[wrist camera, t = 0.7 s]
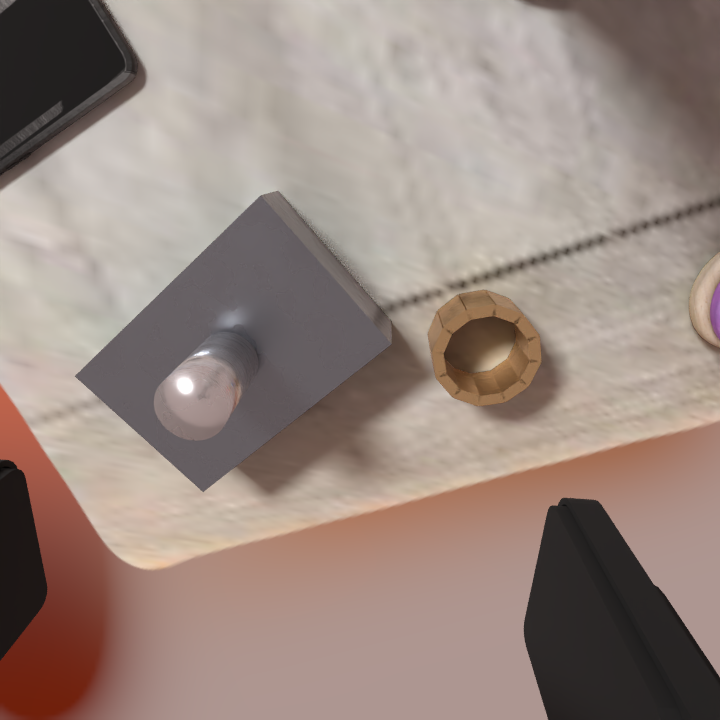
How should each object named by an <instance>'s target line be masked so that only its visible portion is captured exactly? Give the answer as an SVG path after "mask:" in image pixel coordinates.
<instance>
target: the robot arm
mask: <svg viewBox="0 0 720 720" xmlns="http://www.w3.org/2000/svg"><path fill="white" fill-rule="evenodd" d="M46 595H47V583H46V578H45V573H44V568H43V564H42V558H41V554H40V548H39V543H38V538H37V533H36V528H35V523H34V518H33V513H32V508H31V504H30V498H29V493H28V488H27V483H26V478H25V475H24V473H23V472H22V471H21V470H19V469H17V466H16V465H15V464H14V463H13V462H11V461H9V460H0V660H1V659H2V658H3V657H4V655H5V654H6V653H7V651H8V650H9V649H10V648H11V646H12V645H13V644H14V642H15V641H16V640H17V639H18V637H19V636H20V635H21V634H22V632H23V631H24V630H25V628H26V627H27V626H28V625H29V623H30V622H31V621H32V619H33V618H34V617H35V616H36V614H37V613H38V612H39V610H40V609H41V608H42V606H43V604H44V602H45V599H46ZM524 637H525V643H526V647H527V651H528V654H529V657H530V661H531V664H532V667H533V670H534V674H535V677H536V680H537V684H538V687H539V690H540V694H541V697H542V700H543V703H544V707H545V710H546V713H547V717H548V720H720V677H719V675H718V674H717V673H716V671H715V670H714V668H713V666H712V665H711V663H710V662H709V660H708V659H707V657H706V656H705V655H704V653H703V651H702V650H701V649H700V647H699V646H698V644H697V643H696V641H695V639H694V638H693V636H692V635H691V634H690V632H689V630H688V629H687V627H686V626H685V624H684V623H683V622H682V620H681V618H680V617H679V615H678V614H677V612H676V611H675V609H674V608H673V607H672V605H671V603H670V602H669V600H668V599H667V597H666V596H665V595H664V594H663V593H662V591H661V590H660V589H659V588H658V587H657V586H655V585H654V584H653V583H652V581H651V580H650V578H649V577H648V575H647V574H646V572H645V571H644V569H643V567H642V566H641V565H640V563H639V561H638V560H637V558H636V557H635V555H634V554H633V552H632V551H631V550H630V548H629V546H628V545H627V543H626V542H625V540H624V539H623V537H622V535H621V534H620V533H619V531H618V529H617V528H616V527H615V525H614V523H613V522H612V520H611V519H610V517H609V516H608V514H607V513H606V511H605V510H604V508H603V507H602V505H601V504H600V503H599V502H598V501H596V500H589V499H588V500H587V499H574V498H562V499H561V500H560V502H559V504H558V506H550V507H549V509H548V512H547V517H546V522H545V526H544V531H543V536H542V540H541V545H540V550H539V555H538V560H537V564H536V569H535V574H534V578H533V583H532V588H531V592H530V598H529V602H528V607H527V611H526V616H525V622H524Z"/></svg>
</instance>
